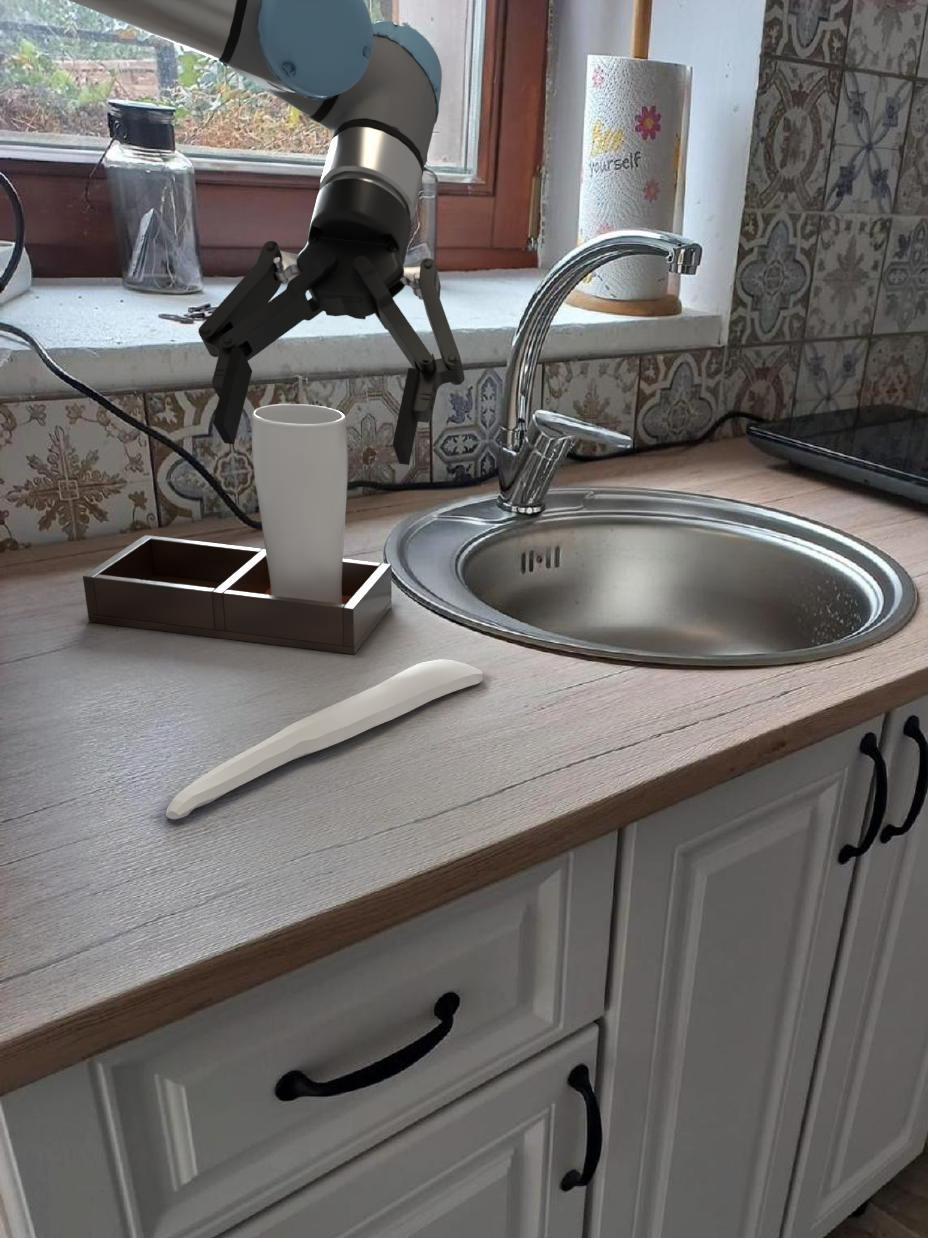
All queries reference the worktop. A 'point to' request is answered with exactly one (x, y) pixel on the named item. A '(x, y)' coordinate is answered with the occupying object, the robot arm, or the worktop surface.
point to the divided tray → (231, 596)
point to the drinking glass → (302, 497)
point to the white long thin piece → (329, 728)
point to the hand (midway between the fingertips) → (311, 444)
